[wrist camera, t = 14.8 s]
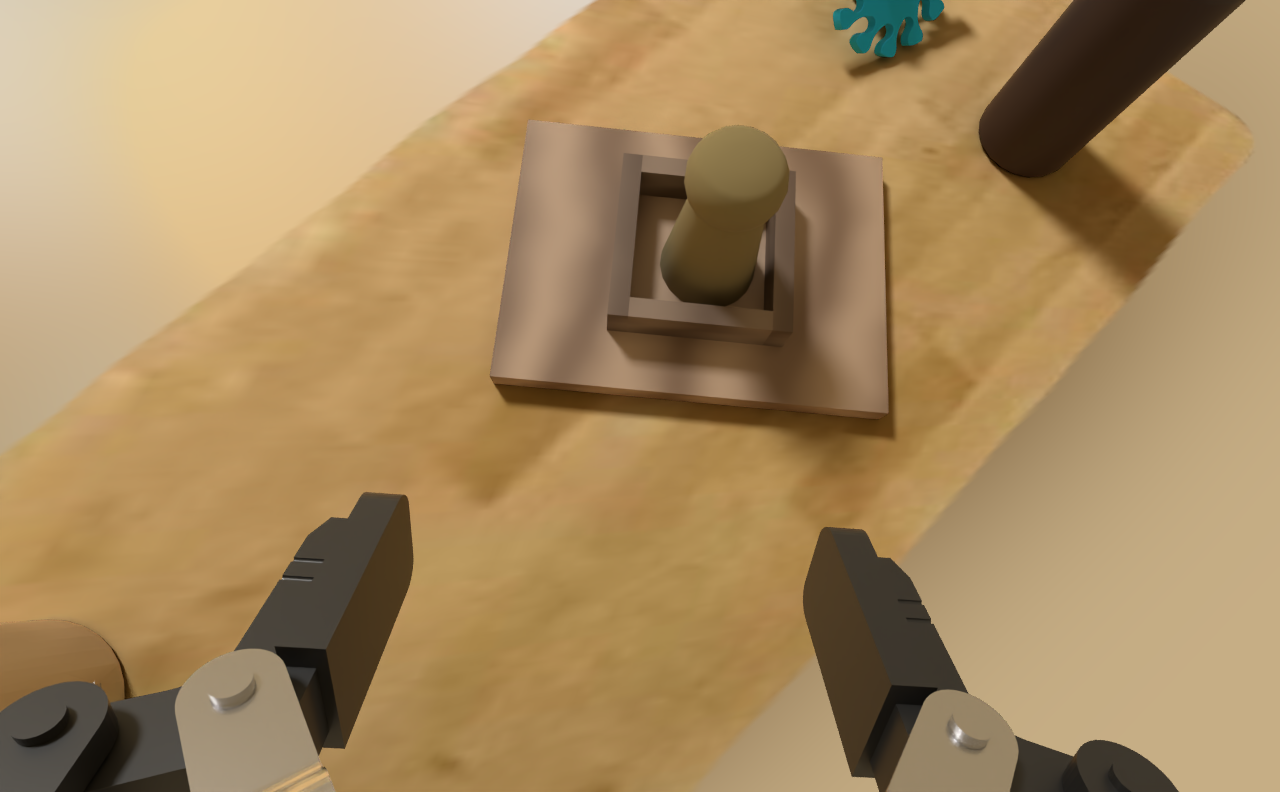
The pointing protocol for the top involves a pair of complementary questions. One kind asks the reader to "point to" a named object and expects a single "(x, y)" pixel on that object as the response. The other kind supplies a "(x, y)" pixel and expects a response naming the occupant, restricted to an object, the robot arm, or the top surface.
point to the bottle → (1089, 76)
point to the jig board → (658, 320)
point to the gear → (886, 22)
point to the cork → (724, 215)
